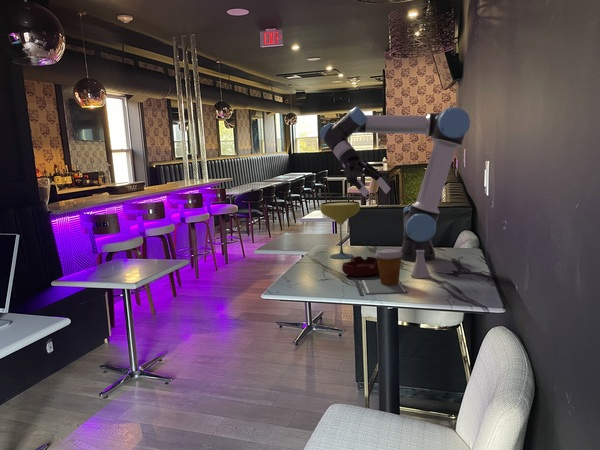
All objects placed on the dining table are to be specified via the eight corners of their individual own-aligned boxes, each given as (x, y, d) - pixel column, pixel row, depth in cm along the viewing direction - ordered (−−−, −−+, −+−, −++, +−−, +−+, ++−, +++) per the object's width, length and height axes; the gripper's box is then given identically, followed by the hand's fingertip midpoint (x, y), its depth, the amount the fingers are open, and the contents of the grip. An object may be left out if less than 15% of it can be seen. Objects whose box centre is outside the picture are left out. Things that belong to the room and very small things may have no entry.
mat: (398, 280, 170) (398, 278, 170) (407, 292, 154) (407, 291, 154) (360, 281, 170) (360, 280, 170) (365, 294, 154) (365, 293, 154)
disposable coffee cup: (397, 287, 159) (396, 253, 157) (372, 285, 164) (370, 252, 162) (407, 280, 166) (406, 248, 165) (382, 278, 172) (381, 246, 170)
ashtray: (380, 281, 171) (380, 267, 170) (339, 277, 178) (339, 265, 177) (392, 269, 187) (392, 257, 186) (354, 267, 194) (353, 255, 193)
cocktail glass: (367, 254, 217) (366, 201, 213) (350, 262, 202) (348, 205, 198) (333, 251, 226) (331, 200, 223) (315, 259, 211) (312, 204, 208)
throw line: (357, 280, 172) (357, 280, 172) (363, 295, 153) (363, 295, 153) (354, 280, 172) (354, 280, 172) (360, 296, 153) (360, 295, 153)
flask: (430, 274, 176) (430, 248, 174) (430, 279, 169) (429, 252, 168) (411, 273, 178) (411, 248, 177) (409, 278, 171) (409, 252, 170)
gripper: (361, 160, 196) (391, 196, 187) (320, 162, 179) (351, 202, 170) (370, 147, 191) (402, 183, 183) (330, 148, 174) (362, 188, 166)
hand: (377, 192), depth 177 cm, fingers open, 13 cm apart
